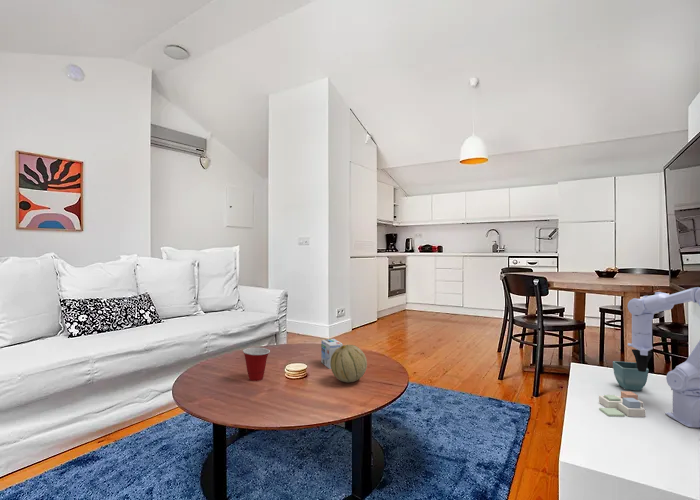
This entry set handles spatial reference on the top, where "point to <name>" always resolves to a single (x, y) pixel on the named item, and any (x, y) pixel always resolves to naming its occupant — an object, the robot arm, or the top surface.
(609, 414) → the sage swatch
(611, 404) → the button strip
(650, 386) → the top surface
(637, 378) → the flower pot
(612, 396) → the sage button
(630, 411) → the side socket
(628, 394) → the orange-brown cube
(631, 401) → the blue-grey cube
